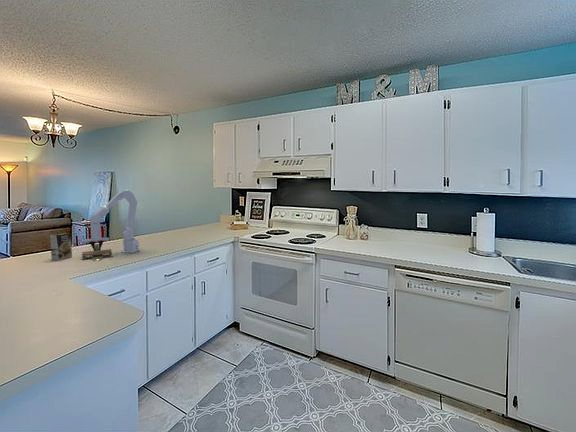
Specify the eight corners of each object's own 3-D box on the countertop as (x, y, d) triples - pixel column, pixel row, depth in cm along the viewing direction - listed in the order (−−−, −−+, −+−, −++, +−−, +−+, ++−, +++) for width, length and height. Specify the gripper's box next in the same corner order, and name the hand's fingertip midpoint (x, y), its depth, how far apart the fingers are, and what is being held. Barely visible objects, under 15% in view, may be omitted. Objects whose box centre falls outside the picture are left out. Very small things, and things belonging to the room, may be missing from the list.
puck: (104, 259, 192) (104, 258, 192) (97, 262, 187) (97, 260, 187) (97, 259, 193) (97, 258, 192) (90, 261, 188) (90, 260, 188)
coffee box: (59, 260, 188) (57, 235, 186) (51, 259, 189) (49, 234, 187) (72, 257, 197) (71, 232, 195) (64, 256, 198) (62, 232, 196)
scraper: (92, 254, 203) (91, 244, 202) (102, 253, 206) (101, 243, 205) (92, 260, 190) (91, 248, 189) (103, 258, 193) (102, 247, 192)
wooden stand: (82, 257, 195) (82, 251, 194) (111, 254, 203) (111, 249, 203) (82, 260, 189) (82, 254, 189) (111, 257, 198) (111, 251, 197)
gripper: (108, 230, 208) (109, 249, 210) (83, 232, 200) (84, 252, 202) (108, 232, 202) (109, 251, 204) (82, 233, 195) (84, 254, 196)
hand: (97, 252), depth 203 cm, fingers closed on scraper, 2 cm apart
